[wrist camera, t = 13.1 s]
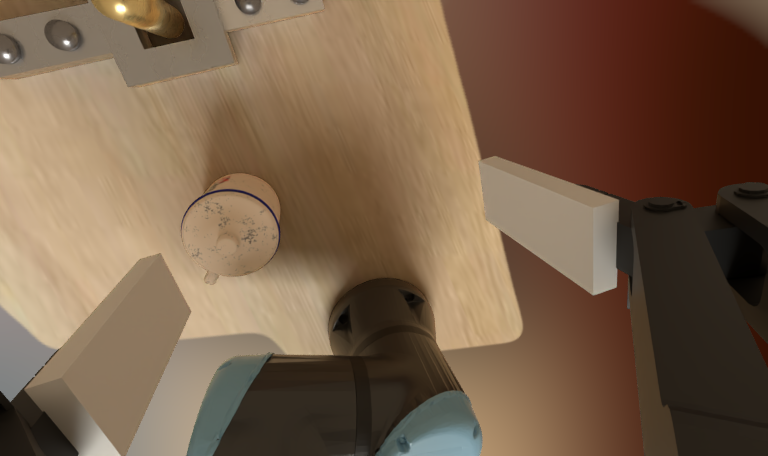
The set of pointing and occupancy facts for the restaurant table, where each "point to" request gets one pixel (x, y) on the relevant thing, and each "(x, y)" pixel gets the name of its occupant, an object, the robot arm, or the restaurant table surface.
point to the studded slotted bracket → (136, 39)
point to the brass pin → (144, 15)
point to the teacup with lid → (233, 226)
